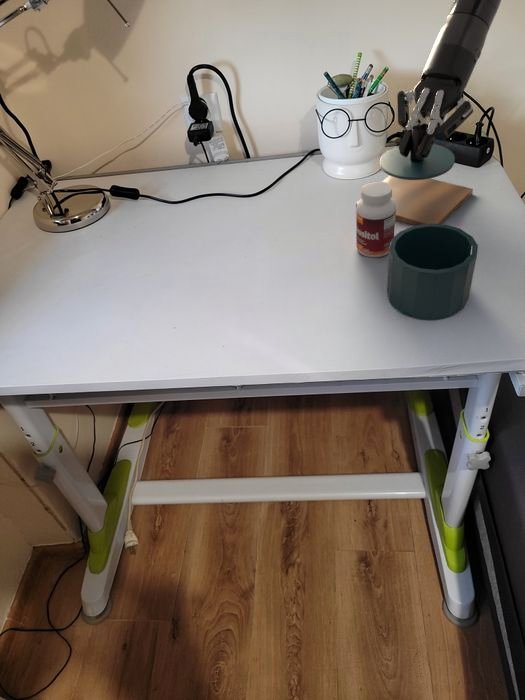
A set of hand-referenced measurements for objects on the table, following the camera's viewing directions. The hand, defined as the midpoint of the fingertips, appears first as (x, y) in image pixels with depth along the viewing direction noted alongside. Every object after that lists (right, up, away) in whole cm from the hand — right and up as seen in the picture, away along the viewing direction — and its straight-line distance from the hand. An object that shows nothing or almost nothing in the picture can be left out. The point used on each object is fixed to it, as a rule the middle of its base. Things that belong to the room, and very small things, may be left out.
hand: (411, 156), depth 87 cm
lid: (+2, 0, +2) cm, 3 cm away
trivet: (+3, -5, +8) cm, 10 cm away
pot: (-1, -25, -10) cm, 27 cm away
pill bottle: (-6, -16, -1) cm, 17 cm away
